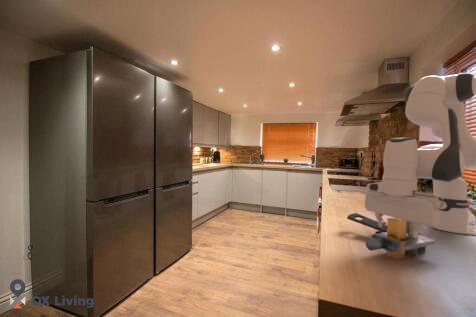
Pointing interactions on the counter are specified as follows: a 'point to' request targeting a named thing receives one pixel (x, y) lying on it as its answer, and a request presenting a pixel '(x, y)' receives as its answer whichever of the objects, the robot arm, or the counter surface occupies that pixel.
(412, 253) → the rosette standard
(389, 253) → the orange wooden block
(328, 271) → the counter surface
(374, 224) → the zipper pull
